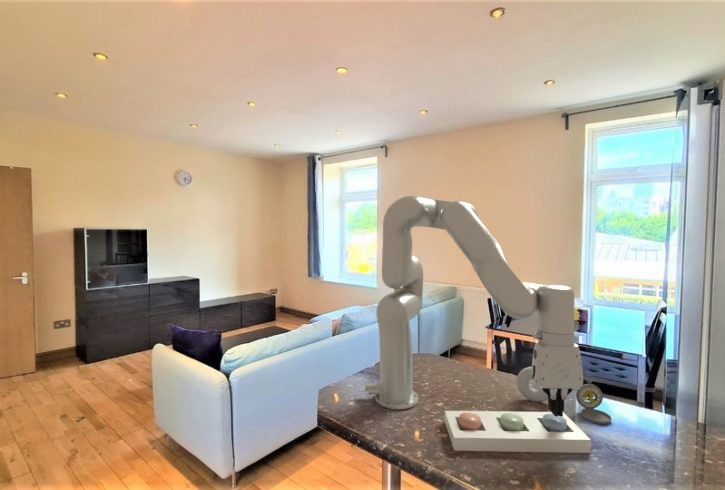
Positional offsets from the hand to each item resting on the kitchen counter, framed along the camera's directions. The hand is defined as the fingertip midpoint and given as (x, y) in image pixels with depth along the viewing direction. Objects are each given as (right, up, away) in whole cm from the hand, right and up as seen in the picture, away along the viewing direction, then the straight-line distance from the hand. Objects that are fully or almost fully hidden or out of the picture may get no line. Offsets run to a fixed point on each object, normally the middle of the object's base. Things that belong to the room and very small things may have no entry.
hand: (556, 413), depth 85 cm
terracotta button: (-20, -4, +1) cm, 21 cm away
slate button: (0, -3, 0) cm, 3 cm away
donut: (+4, -5, +18) cm, 19 cm away
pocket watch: (+15, -5, +10) cm, 19 cm away
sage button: (-10, -3, +1) cm, 11 cm away
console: (-10, -6, +1) cm, 12 cm away
